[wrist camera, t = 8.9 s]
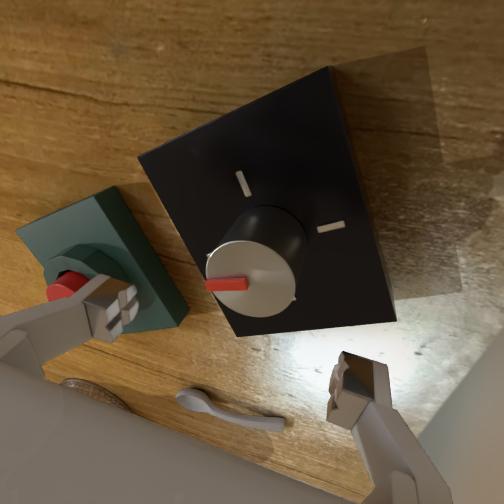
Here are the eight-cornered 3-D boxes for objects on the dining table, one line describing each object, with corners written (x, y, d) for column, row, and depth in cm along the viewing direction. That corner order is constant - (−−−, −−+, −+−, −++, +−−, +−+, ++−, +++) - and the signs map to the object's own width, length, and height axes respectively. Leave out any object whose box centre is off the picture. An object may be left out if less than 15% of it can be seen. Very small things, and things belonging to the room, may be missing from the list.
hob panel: (163, 145, 20) (134, 157, 17) (332, 64, 15) (327, 65, 12) (248, 310, 25) (236, 339, 22) (392, 290, 20) (397, 323, 18)
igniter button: (55, 275, 24) (37, 288, 23) (85, 266, 22) (66, 280, 21) (83, 309, 25) (66, 324, 24) (112, 304, 24) (97, 319, 22)
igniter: (36, 219, 27) (-8, 241, 24) (114, 185, 22) (73, 205, 19) (113, 321, 31) (85, 351, 28) (190, 309, 27) (167, 343, 24)
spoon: (179, 379, 33) (171, 396, 32) (287, 407, 32) (285, 426, 30) (180, 395, 35) (173, 412, 33) (283, 422, 33) (281, 441, 32)
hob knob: (300, 200, 16) (283, 240, 12) (313, 271, 18) (301, 322, 14) (224, 210, 17) (190, 247, 14) (243, 274, 19) (218, 321, 16)
